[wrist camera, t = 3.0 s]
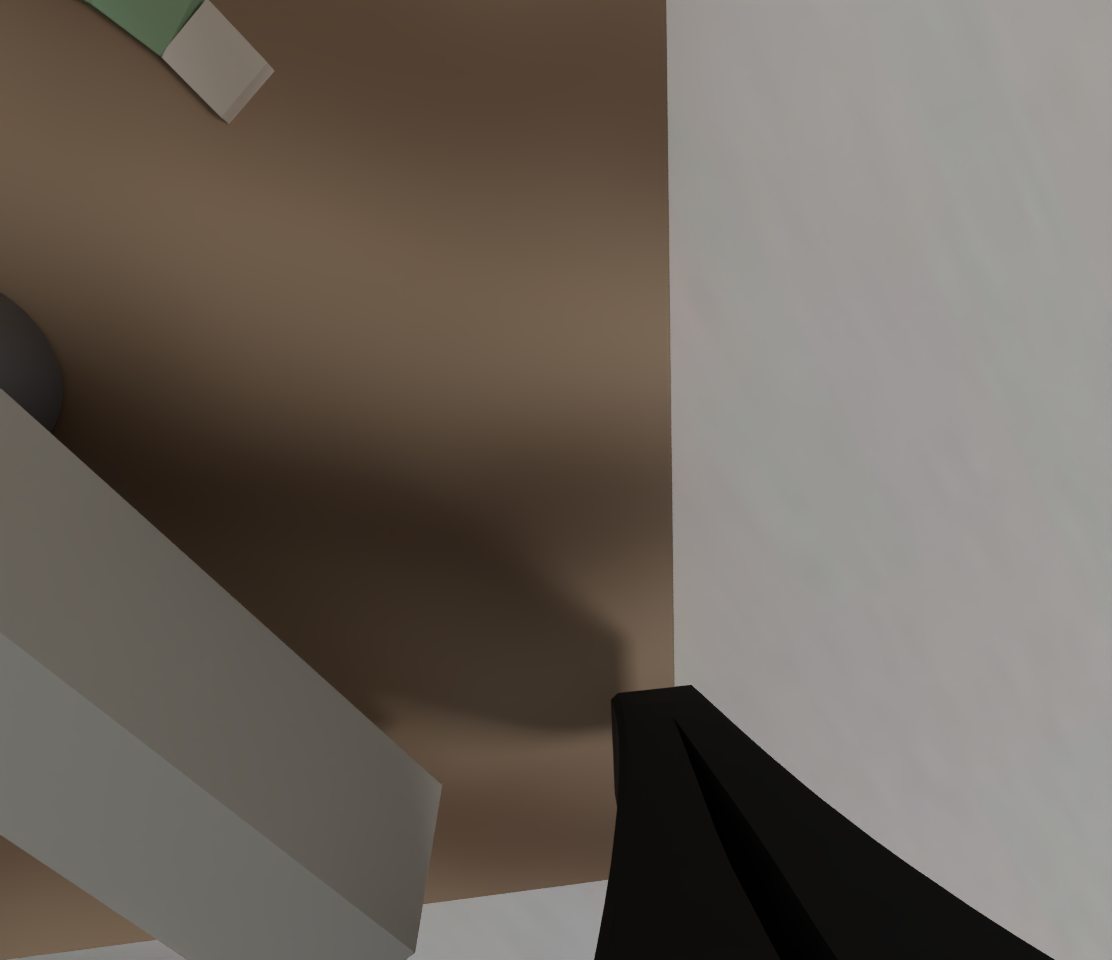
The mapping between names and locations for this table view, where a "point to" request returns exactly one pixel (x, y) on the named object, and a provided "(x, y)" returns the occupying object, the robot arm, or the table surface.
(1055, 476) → the table surface
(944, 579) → the table surface
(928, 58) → the table surface
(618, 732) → the robot arm
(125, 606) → the lever
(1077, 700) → the table surface
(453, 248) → the wood grain tray mat
